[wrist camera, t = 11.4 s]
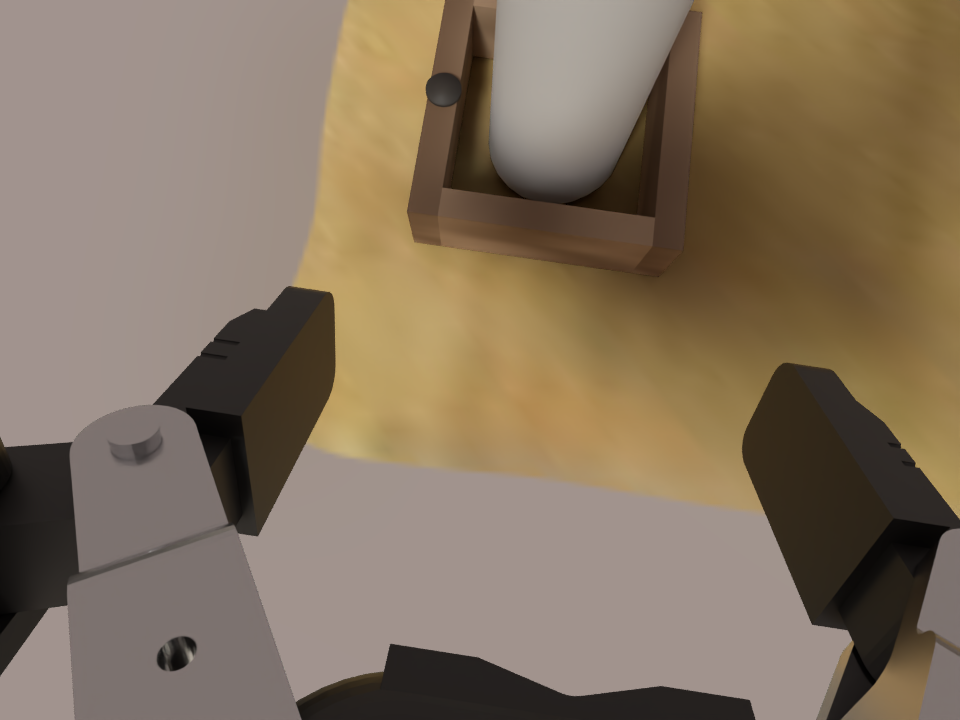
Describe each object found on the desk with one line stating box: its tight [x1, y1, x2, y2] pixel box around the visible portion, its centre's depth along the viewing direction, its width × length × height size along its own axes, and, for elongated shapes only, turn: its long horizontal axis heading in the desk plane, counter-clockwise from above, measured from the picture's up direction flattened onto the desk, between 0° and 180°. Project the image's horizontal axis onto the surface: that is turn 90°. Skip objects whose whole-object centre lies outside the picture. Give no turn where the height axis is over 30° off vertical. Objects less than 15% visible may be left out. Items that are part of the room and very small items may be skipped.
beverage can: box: [489, 0, 694, 204], centre depth 16 cm, size 5×5×12 cm
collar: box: [407, 0, 702, 277], centre depth 21 cm, size 9×9×3 cm
